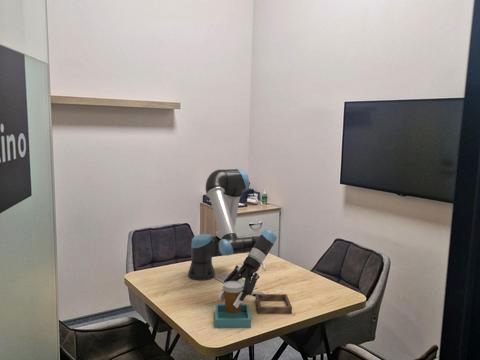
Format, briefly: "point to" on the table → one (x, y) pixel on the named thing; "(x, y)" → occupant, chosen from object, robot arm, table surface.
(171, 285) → the table surface
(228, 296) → the disposable coffee cup
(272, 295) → the walnut cup stand
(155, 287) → the table surface
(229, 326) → the teal tray
